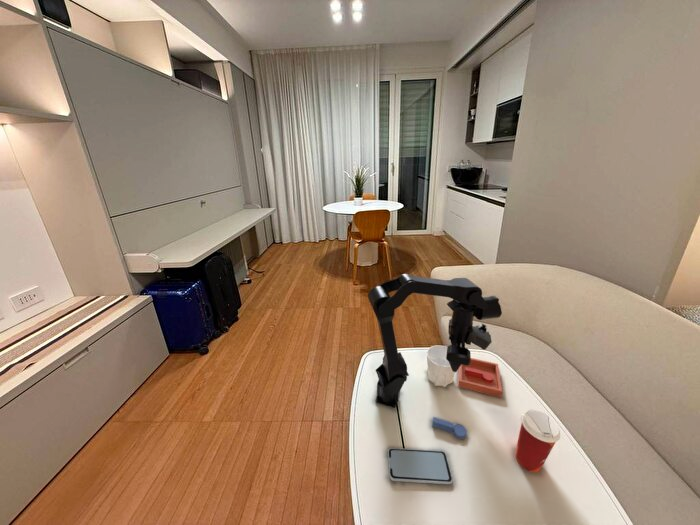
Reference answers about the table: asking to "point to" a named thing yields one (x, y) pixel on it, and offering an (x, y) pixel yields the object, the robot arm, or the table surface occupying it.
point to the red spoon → (479, 374)
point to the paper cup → (536, 439)
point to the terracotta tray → (480, 384)
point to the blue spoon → (450, 427)
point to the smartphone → (419, 466)
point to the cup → (439, 366)
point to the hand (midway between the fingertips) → (454, 361)
